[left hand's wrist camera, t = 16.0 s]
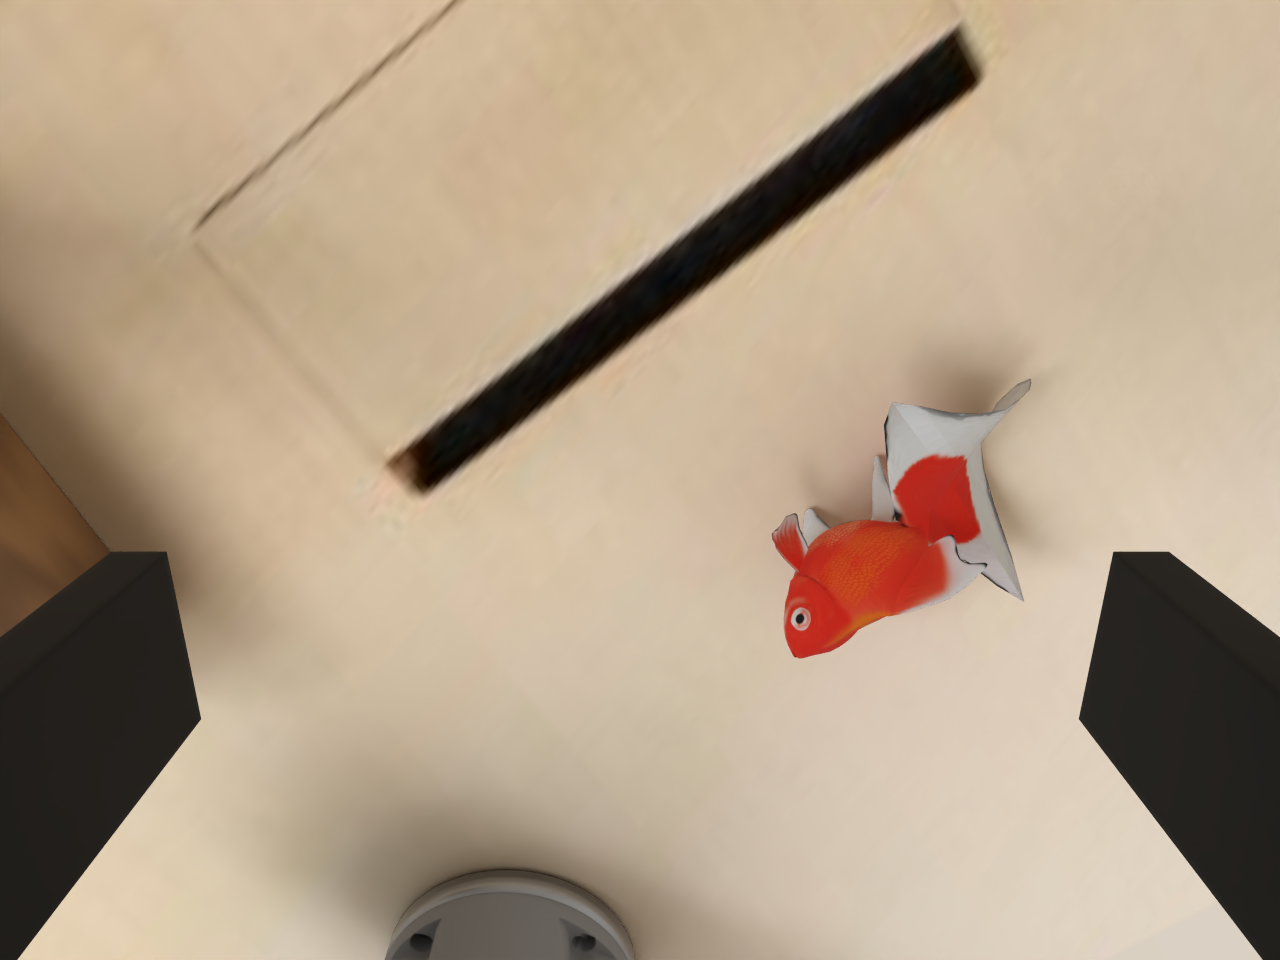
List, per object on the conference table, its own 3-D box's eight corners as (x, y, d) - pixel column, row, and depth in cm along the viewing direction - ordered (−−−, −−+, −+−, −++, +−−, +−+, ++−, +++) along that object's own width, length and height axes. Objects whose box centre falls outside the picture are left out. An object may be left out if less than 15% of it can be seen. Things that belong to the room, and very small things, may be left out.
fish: (670, 489, 39) (826, 598, 31) (917, 291, 43) (1111, 345, 35) (745, 635, 46) (889, 755, 38) (953, 453, 49) (1124, 528, 41)
